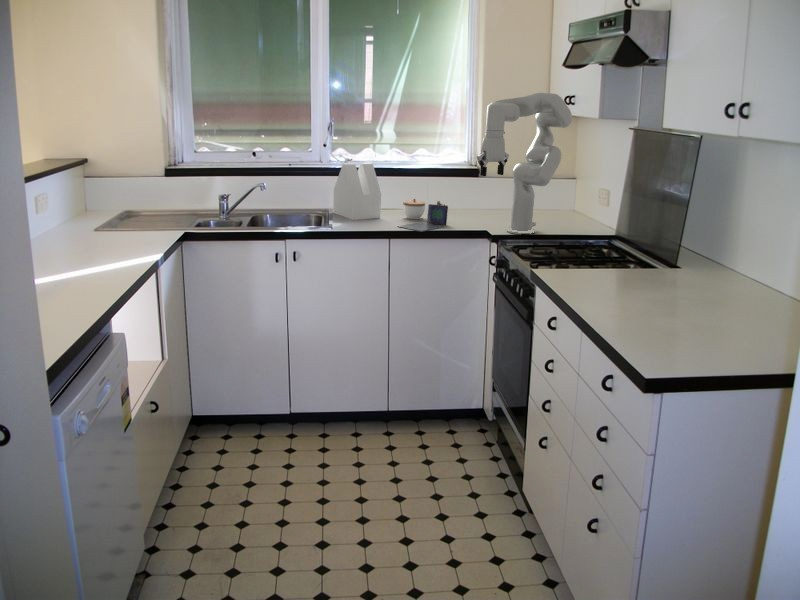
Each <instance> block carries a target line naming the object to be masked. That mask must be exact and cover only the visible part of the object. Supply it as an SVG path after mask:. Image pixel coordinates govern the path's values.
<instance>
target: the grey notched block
mask: <svg viewBox="0 0 800 600" xmlns="http://www.w3.org/2000/svg"><path fill="white" fill-rule="evenodd" d="M332 203H333V207H332V208H333V211H332V212H333V214H335V215H338V216H341V217H344V218H346V219H350V220H352V221H353V220H366V219H368V220H369V219H380V218H381V208H382V206H381V205H382V192H381V189H380V185H379V181H378V177H377V174H376V170H375V166H374V163H372V162H365V163H364V162H363V163H359V166H358V168H357V165H356V163H342V165H341V169H340V170H339V173H338V176H337V179H336V183H335V185H334V188H333V202H332Z"/></svg>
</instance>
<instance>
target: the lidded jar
mask: <svg viewBox="0 0 800 600" xmlns="http://www.w3.org/2000/svg"><path fill="white" fill-rule="evenodd" d="M402 204H403V206H402V207H403V214H404V216H405V217H406V218H407V219H409V220H419V219H421V217H422V216H423V215H424V214H425V209H426V202H425V201H423V200H417V199H416V198H413V200H405V201H404V200H403V203H402Z"/></svg>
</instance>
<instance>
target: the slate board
mask: <svg viewBox="0 0 800 600" xmlns="http://www.w3.org/2000/svg"><path fill="white" fill-rule="evenodd" d="M397 228H400V229H401V228H402V229H405V230H411V231H415V232H420V233H423V232H426V231H427V232H428V231H433V230H438V229H444V228H445V225H440V224H432V223H431V224H430V223H427V222H422V221H418V222H414V223H407V224H402V225H397Z"/></svg>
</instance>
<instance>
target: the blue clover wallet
mask: <svg viewBox="0 0 800 600" xmlns="http://www.w3.org/2000/svg"><path fill="white" fill-rule="evenodd" d="M427 206H428V208H427V217H426V223H429V224H434V225H440V226H446V225H447V221H448V220H447V219H448V211H449V206H448V205H446V204H444V203H441V201H440V200H437V201H436V203H435V204H433V203H428V205H427Z"/></svg>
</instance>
